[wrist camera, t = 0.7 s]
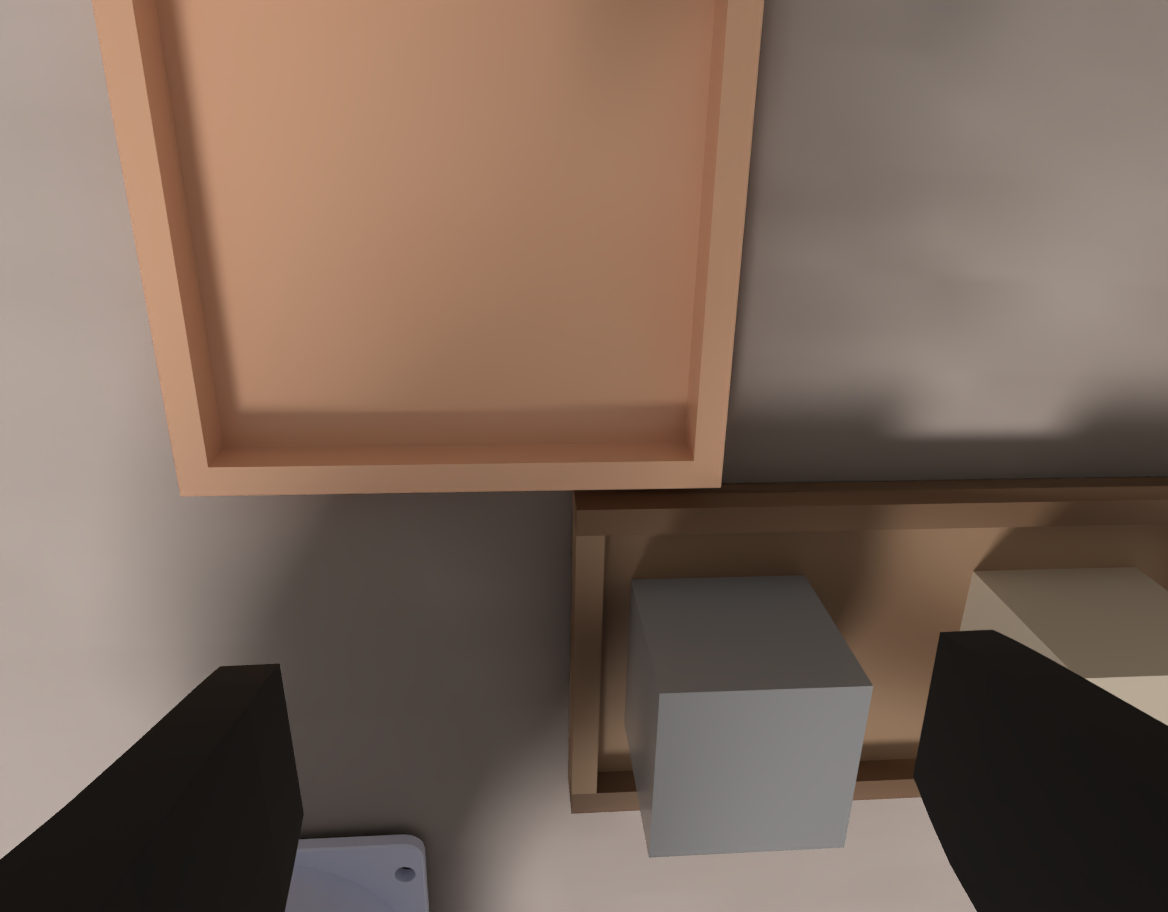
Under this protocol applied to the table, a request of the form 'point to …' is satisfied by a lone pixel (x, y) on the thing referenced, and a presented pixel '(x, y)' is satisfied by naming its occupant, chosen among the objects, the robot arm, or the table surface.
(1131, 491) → the walnut tray
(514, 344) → the terracotta dish
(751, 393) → the table surface
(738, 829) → the slate gray cube
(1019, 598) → the cream pedestal cube
